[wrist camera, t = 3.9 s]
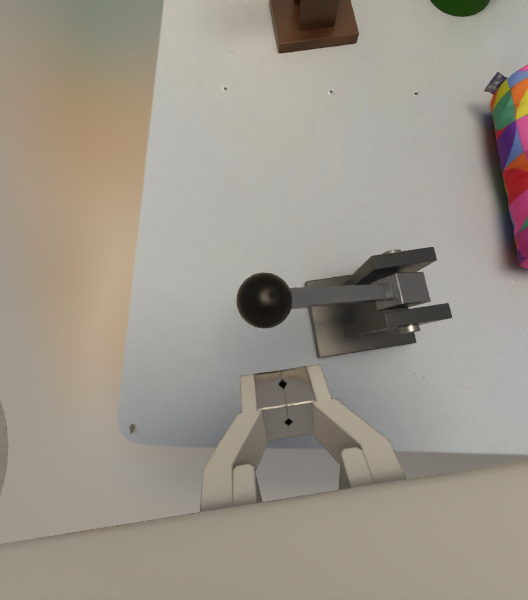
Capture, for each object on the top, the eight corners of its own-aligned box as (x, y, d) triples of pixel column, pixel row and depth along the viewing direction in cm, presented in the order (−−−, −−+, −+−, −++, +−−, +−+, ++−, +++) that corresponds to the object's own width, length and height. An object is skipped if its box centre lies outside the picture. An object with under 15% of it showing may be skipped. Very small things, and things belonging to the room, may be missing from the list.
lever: (232, 334, 19) (253, 326, 16) (225, 282, 19) (244, 265, 16) (401, 315, 25) (437, 307, 22) (391, 276, 25) (426, 263, 22)
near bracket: (317, 357, 33) (349, 357, 20) (304, 284, 34) (326, 240, 22) (411, 343, 33) (500, 333, 21) (394, 270, 35) (467, 220, 22)
